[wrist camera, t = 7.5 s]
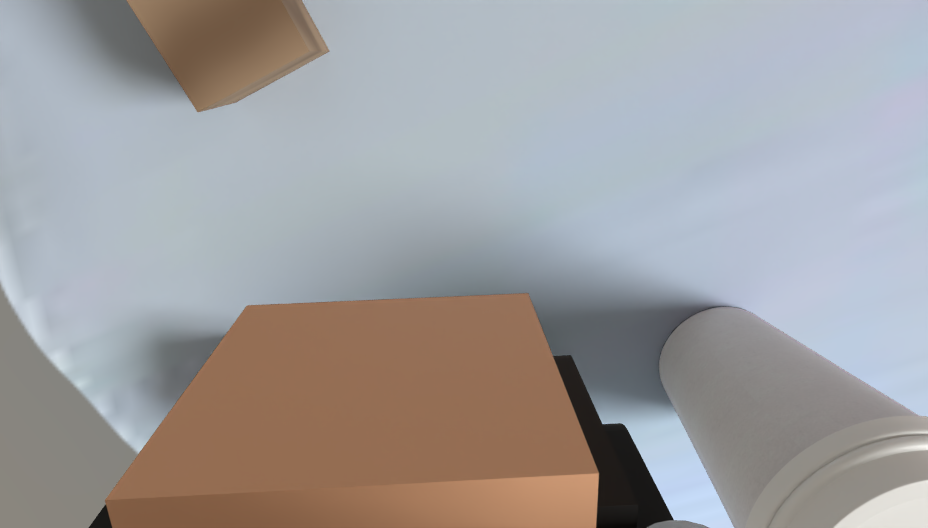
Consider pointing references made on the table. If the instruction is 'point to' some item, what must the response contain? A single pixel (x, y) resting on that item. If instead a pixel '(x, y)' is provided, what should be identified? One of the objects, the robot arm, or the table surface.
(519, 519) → the terracotta block
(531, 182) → the table surface
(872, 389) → the coffee cup
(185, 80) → the walnut block
